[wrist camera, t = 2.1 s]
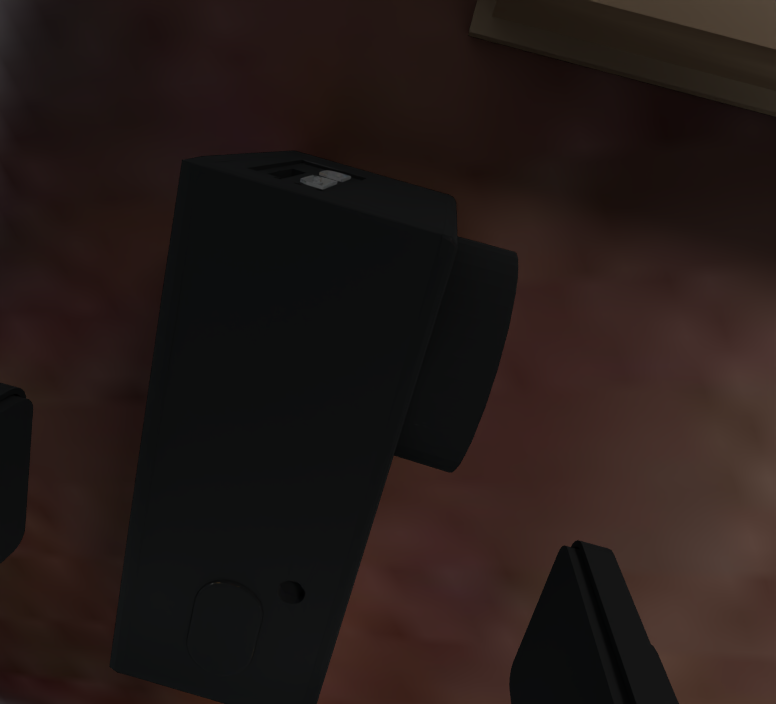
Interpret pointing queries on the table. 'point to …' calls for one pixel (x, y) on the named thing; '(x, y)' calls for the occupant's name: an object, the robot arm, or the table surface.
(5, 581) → the table surface
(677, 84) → the plinth
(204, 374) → the digital camera
